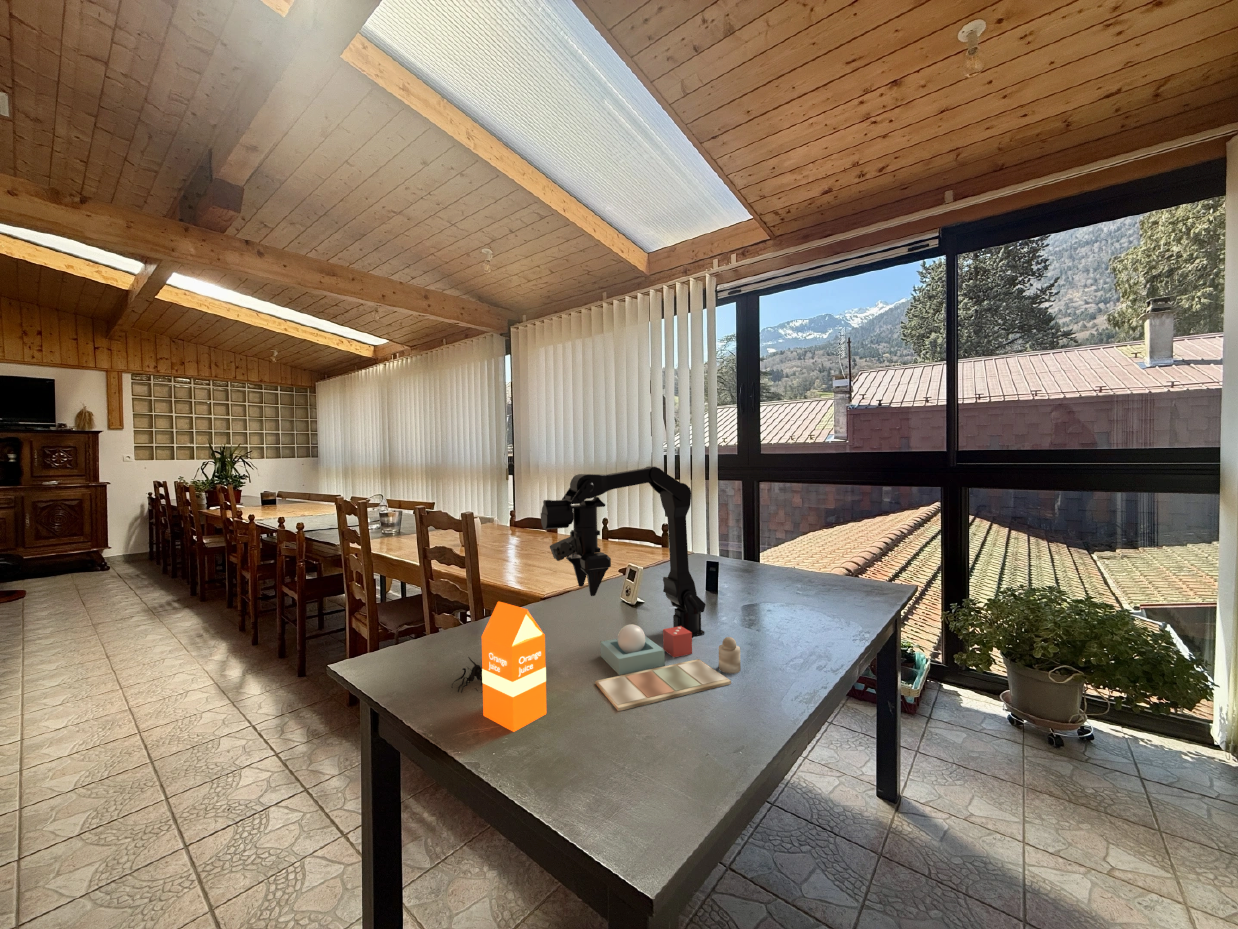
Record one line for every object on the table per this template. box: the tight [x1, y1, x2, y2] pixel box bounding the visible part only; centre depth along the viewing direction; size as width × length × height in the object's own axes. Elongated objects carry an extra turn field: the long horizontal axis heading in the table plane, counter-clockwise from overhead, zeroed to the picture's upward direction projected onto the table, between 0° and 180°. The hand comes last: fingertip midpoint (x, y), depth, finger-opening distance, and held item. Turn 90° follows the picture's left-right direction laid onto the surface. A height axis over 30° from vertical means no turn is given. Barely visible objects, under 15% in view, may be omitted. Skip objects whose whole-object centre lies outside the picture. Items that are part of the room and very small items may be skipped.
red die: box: [662, 626, 693, 658], centre depth 115 cm, size 5×5×5 cm
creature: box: [451, 656, 483, 694], centre depth 100 cm, size 8×5×8 cm
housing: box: [599, 635, 666, 676], centre depth 111 cm, size 11×11×4 cm
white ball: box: [616, 623, 646, 654], centre depth 111 cm, size 6×6×6 cm
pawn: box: [718, 636, 741, 674], centre depth 106 cm, size 5×5×7 cm
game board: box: [594, 658, 732, 712], centre depth 99 cm, size 25×12×1 cm, turn 113°
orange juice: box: [480, 601, 547, 733], centre depth 88 cm, size 8×9×20 cm
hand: (586, 591), depth 117 cm, fingers open, 9 cm apart
